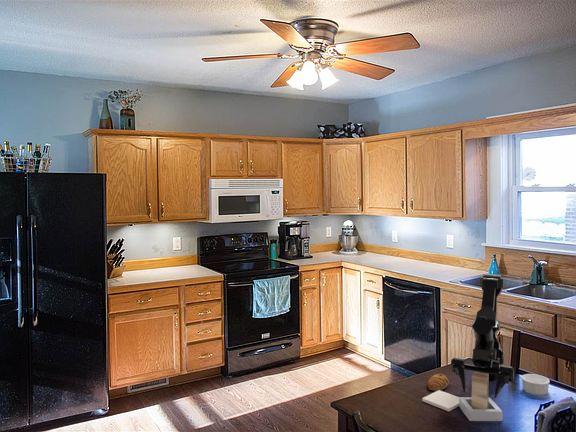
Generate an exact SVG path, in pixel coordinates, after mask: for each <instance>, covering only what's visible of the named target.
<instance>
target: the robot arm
mask: <svg viewBox="0 0 576 432" xmlns="http://www.w3.org/2000/svg"><path fill="white" fill-rule="evenodd" d="M479 287H480V288H481V290H482V299H481V305H480V309H479V310H478V311H477V312H476V314H475V315H476V317H474V319H473V322H472V325H471V327H472V330H473V337H474V339H475V342H474V348H473V349H472V355H471V356H472V357H471V364H470V363H465V359H464V358H457V357H452V359H450V368H451V372H453V373H455V375H456V376H459V378H460V381H461V382H460V383H461V387H462V391H463V393H466V389H467V388H466V386H467V385H466V381H467V380H466V371H472V372H474V371H475V372H481V373H487V374H489V382H493V381H497V382H496V386H495V391H494V399H497V398H498V396H499V394H500V393H501V390H502V388H504V386H505V385H508V384H510V383H514V381H515V370H514V367H512V366H511V365H510V366H509V365H504V363H505V361H504V360H505V355H504V352H503V349H502V348H501V344H500V342H499V339H498V338H497V332H498V331H500V328H501V324H500V323H499V320H497V315H498V314H497V313H498V311H497V310H498V297H499V296H500V295H501V293H502V292H503V291H502V290H503V289H504V287H505V278H504V277H502V275H501V274H489V273H483V275H482V276H479Z"/></svg>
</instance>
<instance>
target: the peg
mask: <svg viewBox="0 0 576 432" xmlns="http://www.w3.org/2000/svg"><path fill="white" fill-rule="evenodd" d="M472 372H473V373H472V374H471V397H472V409H488V397H489V382H490V381H489V374H487V373H481V372H477V371H472Z"/></svg>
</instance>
